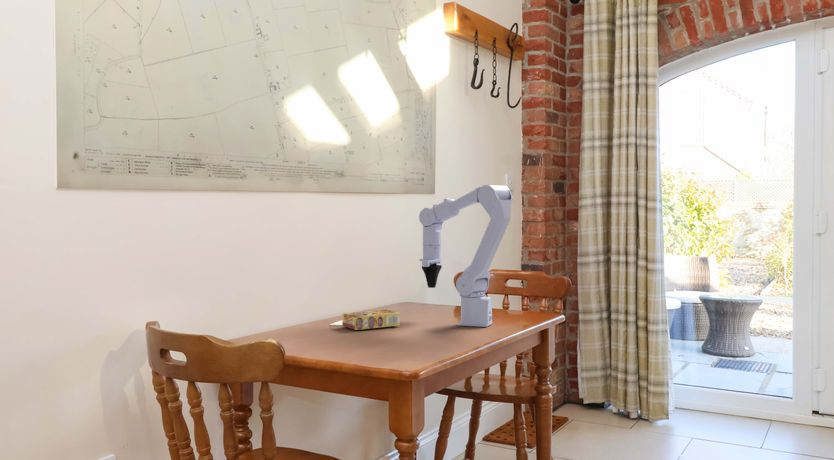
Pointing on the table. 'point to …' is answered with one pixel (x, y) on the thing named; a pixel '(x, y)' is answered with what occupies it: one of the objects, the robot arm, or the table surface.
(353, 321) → the candy box
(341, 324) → the placemat
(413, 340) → the table surface
